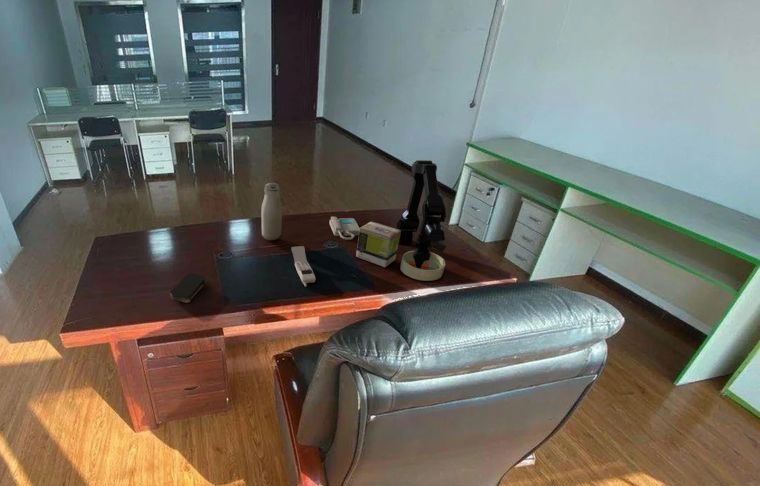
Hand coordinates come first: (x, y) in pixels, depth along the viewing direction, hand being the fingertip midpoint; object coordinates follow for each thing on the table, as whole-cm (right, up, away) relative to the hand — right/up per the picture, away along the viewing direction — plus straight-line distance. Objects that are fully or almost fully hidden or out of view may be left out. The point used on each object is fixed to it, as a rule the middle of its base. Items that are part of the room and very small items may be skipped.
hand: (418, 264), depth 169 cm
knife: (+1, -2, +1) cm, 3 cm away
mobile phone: (-49, -3, +2) cm, 49 cm away
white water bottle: (-62, +15, +28) cm, 70 cm away
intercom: (-24, +19, +32) cm, 44 cm away
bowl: (+1, -3, +1) cm, 4 cm away
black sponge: (-97, -12, -10) cm, 98 cm away
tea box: (-16, +4, +11) cm, 19 cm away
